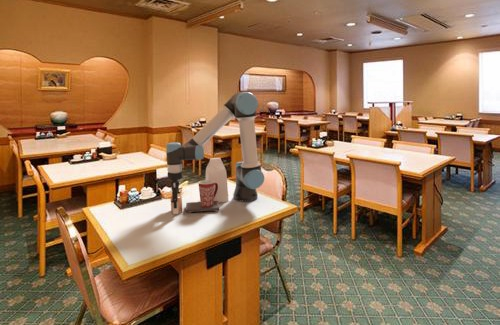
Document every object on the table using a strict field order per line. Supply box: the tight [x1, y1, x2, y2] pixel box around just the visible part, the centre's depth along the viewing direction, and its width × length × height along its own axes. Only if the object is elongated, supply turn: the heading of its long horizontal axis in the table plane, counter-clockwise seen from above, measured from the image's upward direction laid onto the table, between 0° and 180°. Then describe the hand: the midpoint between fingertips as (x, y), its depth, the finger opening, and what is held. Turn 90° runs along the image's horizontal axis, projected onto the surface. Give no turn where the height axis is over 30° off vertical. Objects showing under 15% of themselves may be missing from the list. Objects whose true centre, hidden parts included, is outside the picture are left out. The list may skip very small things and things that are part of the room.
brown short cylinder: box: [169, 194, 184, 215], centre depth 177 cm, size 6×6×9 cm
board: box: [185, 201, 220, 214], centre depth 183 cm, size 18×12×2 cm, turn 99°
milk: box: [205, 157, 229, 203], centre depth 197 cm, size 12×12×26 cm
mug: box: [197, 179, 218, 207], centre depth 182 cm, size 13×9×14 cm
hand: (176, 209), depth 177 cm, fingers open, 13 cm apart
